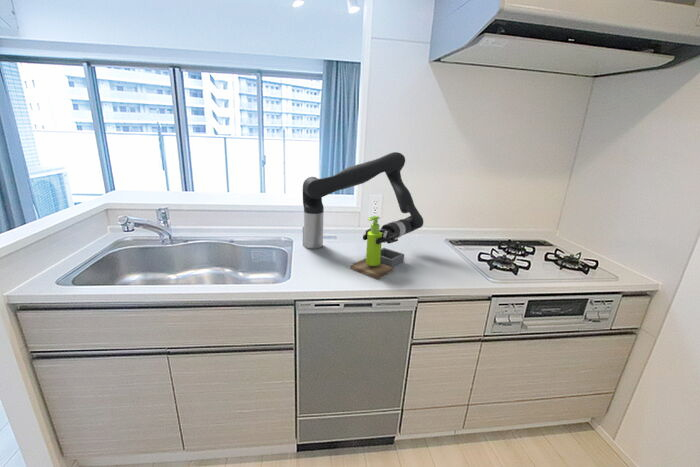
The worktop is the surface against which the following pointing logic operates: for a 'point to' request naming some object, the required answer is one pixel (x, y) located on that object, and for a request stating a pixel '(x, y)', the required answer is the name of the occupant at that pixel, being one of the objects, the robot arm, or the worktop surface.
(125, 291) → the worktop surface
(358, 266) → the board
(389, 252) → the tray
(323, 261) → the worktop surface
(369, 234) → the soap dispenser
